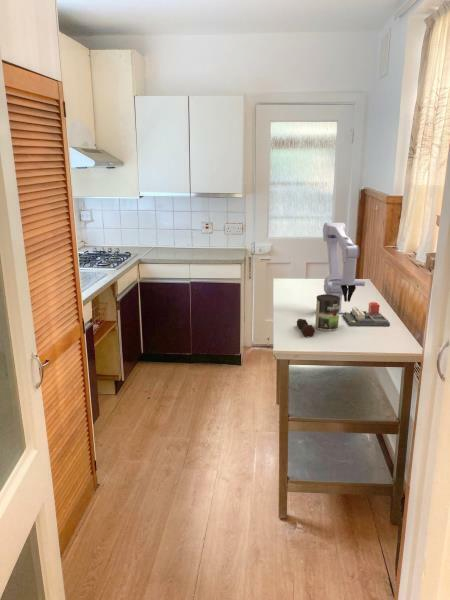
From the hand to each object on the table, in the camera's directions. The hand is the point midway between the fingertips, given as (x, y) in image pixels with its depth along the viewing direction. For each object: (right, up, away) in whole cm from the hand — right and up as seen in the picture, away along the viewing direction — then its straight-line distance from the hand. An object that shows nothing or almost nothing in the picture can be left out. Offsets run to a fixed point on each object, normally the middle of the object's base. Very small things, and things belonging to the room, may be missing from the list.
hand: (347, 301), depth 220 cm
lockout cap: (+17, -6, +17) cm, 25 cm away
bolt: (-21, -14, -8) cm, 26 cm away
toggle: (+7, -7, +8) cm, 13 cm away
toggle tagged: (+7, -8, +2) cm, 11 cm away
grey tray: (+10, -9, +6) cm, 15 cm away
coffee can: (-10, -12, -3) cm, 16 cm away
